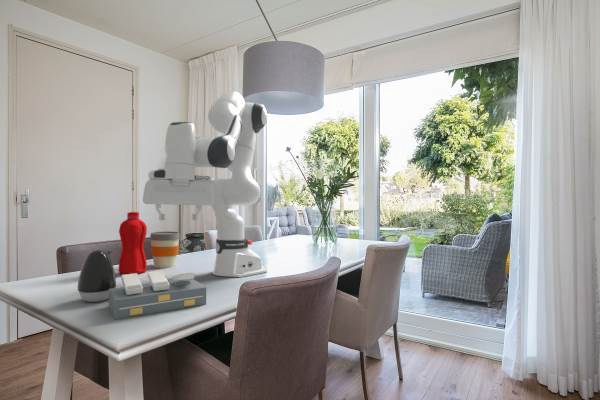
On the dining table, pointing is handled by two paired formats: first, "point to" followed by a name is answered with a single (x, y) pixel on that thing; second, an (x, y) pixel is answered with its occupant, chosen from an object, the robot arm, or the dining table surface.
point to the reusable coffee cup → (164, 248)
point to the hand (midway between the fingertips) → (178, 220)
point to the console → (156, 299)
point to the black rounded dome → (96, 277)
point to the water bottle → (132, 245)
